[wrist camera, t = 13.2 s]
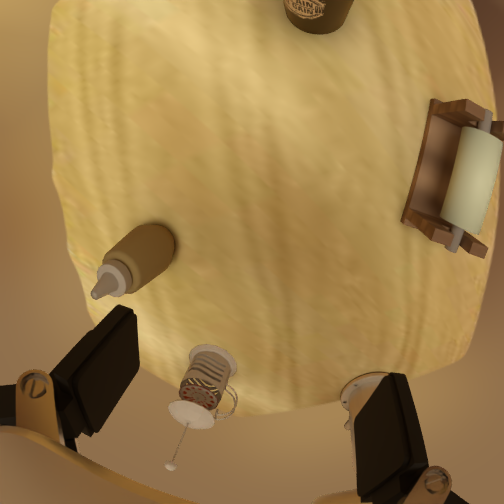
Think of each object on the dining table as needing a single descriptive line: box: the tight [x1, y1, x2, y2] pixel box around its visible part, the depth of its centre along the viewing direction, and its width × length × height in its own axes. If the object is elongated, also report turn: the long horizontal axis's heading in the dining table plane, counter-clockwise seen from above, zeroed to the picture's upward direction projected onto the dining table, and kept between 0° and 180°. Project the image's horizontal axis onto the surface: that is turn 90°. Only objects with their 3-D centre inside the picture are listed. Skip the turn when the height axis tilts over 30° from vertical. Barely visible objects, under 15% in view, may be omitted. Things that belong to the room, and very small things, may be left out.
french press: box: [164, 344, 238, 471], centre depth 43 cm, size 10×12×25 cm
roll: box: [440, 109, 503, 253], centre depth 27 cm, size 19×6×6 cm
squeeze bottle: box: [91, 225, 175, 300], centre depth 38 cm, size 8×8×18 cm
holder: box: [401, 98, 504, 259], centre depth 30 cm, size 19×9×11 cm, turn 169°
